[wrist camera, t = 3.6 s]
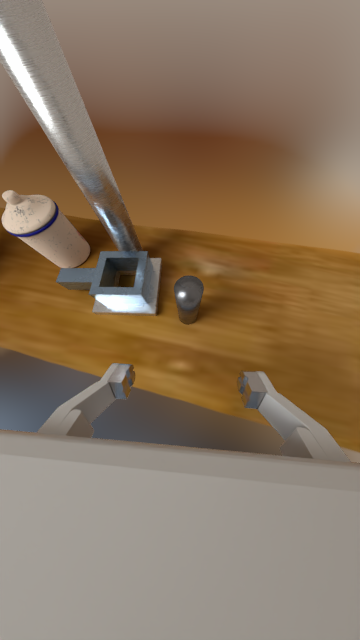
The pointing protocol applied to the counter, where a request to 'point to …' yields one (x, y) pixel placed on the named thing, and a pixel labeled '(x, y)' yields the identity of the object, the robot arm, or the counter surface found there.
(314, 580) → the robot arm
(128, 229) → the box with upright lever
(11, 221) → the teacup with lid
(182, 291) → the dark grey rounded rod
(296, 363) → the counter surface
